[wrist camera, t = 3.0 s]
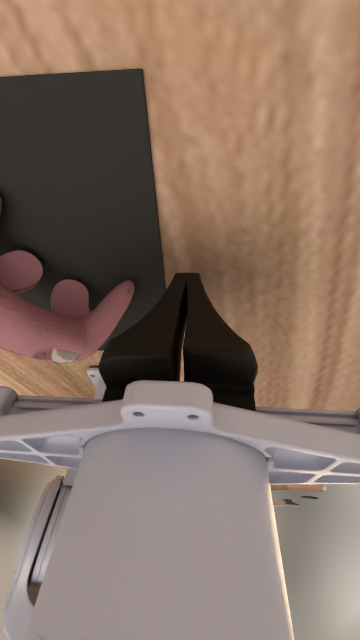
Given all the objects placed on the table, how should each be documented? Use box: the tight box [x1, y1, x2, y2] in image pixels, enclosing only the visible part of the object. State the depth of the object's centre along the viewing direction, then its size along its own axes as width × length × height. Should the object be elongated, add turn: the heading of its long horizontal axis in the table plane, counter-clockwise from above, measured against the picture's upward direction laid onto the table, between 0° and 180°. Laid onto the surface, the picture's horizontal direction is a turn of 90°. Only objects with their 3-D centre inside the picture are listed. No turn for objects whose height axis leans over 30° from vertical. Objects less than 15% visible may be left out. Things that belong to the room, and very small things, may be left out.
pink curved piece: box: [0, 198, 134, 363], centre depth 15 cm, size 10×5×7 cm, turn 50°
